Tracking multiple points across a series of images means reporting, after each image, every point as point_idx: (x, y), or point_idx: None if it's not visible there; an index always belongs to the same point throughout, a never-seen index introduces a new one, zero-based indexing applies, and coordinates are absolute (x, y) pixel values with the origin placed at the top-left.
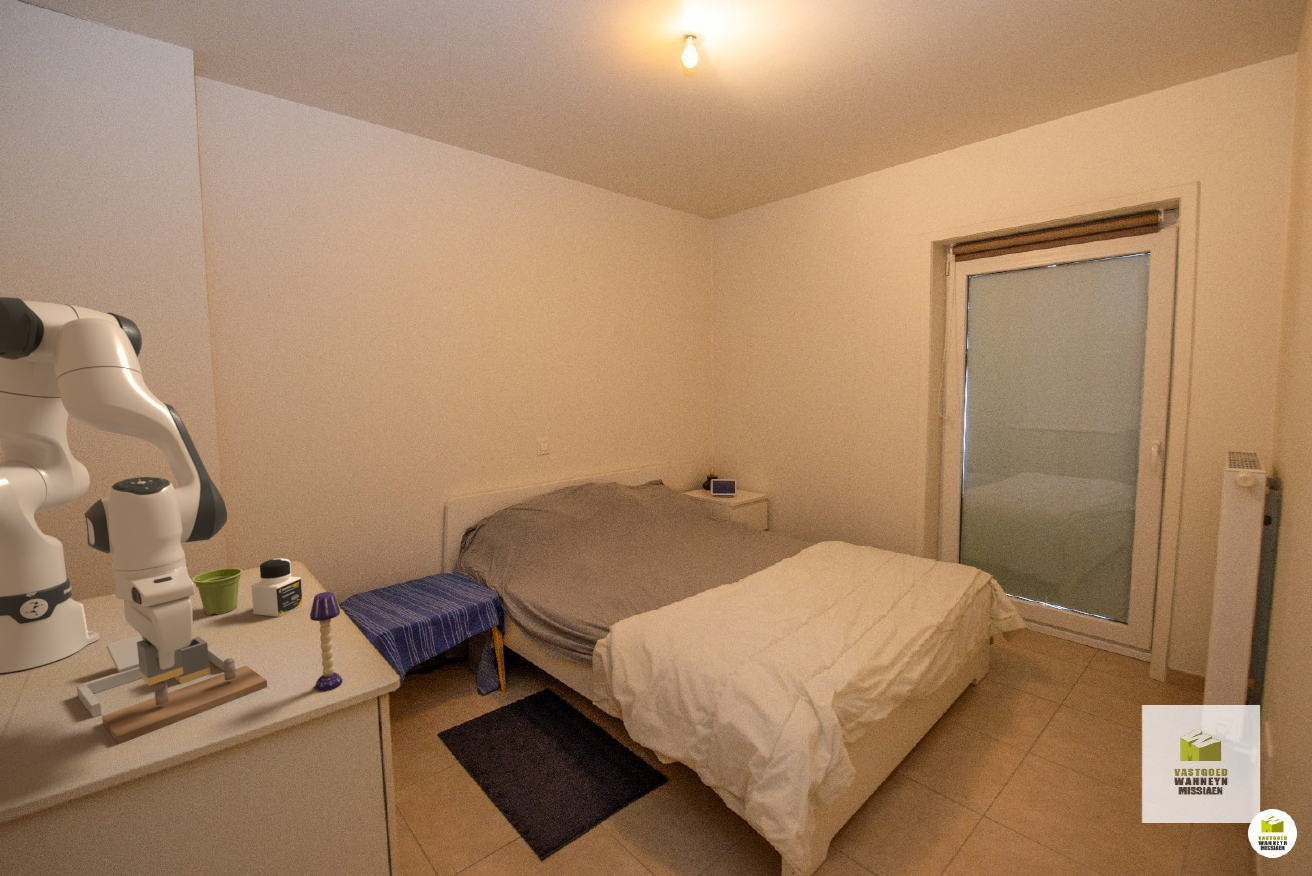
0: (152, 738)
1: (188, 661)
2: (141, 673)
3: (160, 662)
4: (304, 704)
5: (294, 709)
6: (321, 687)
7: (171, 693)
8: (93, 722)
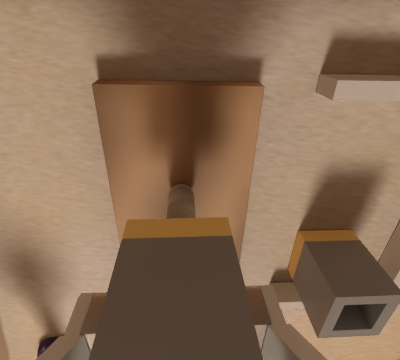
0: (68, 138)
1: (313, 279)
2: (213, 230)
3: (69, 321)
4: (12, 317)
5: (4, 307)
6: (43, 345)
7: (237, 215)
8: (287, 67)
